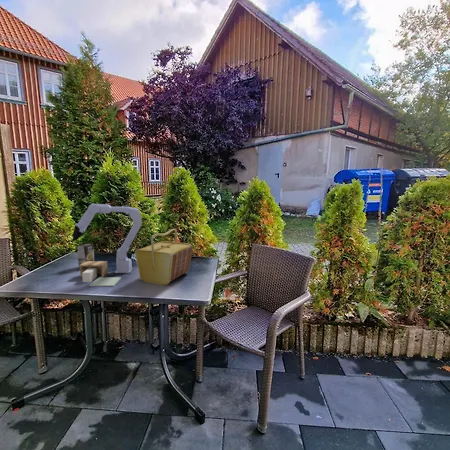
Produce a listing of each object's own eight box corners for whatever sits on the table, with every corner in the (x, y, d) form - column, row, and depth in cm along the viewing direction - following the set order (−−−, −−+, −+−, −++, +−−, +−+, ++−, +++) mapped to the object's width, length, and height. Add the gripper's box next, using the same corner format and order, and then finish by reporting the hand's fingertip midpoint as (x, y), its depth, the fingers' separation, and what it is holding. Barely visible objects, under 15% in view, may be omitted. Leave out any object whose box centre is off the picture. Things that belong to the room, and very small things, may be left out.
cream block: (96, 276, 187) (96, 267, 186) (90, 282, 177) (89, 272, 176) (89, 277, 187) (89, 267, 186) (82, 282, 177) (82, 272, 176)
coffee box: (86, 269, 202) (85, 246, 200) (78, 268, 203) (76, 245, 201) (94, 265, 211) (93, 243, 209) (87, 264, 212) (85, 243, 210)
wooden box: (107, 273, 193) (107, 261, 192) (103, 277, 185) (102, 264, 184) (86, 273, 193) (85, 261, 191) (80, 277, 185) (79, 264, 183)
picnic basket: (171, 288, 170) (170, 237, 165) (134, 282, 178) (132, 233, 174) (193, 273, 197) (193, 229, 192) (160, 268, 205) (159, 226, 201)
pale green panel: (121, 278, 185) (121, 277, 184) (113, 286, 171) (113, 285, 171) (98, 278, 184) (98, 277, 184) (89, 286, 170) (89, 285, 170)
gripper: (78, 214, 190) (67, 232, 190) (80, 220, 178) (67, 239, 178) (89, 220, 194) (77, 237, 194) (91, 225, 182) (79, 244, 182)
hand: (73, 238), depth 186 cm, fingers open, 7 cm apart
